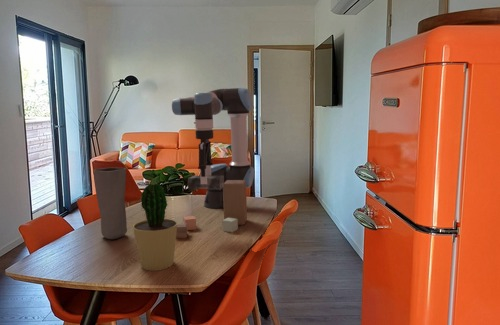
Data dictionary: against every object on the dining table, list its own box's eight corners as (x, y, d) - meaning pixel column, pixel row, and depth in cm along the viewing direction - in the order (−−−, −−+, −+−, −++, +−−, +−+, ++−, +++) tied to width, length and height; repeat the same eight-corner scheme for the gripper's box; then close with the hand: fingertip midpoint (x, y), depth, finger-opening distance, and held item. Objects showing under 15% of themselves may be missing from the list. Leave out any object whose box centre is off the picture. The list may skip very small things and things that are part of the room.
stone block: (194, 185, 187) (194, 173, 186) (225, 186, 184) (225, 175, 183) (187, 189, 178) (187, 176, 177) (220, 190, 175) (220, 178, 175)
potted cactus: (182, 255, 157) (178, 177, 153) (175, 272, 142) (171, 185, 137) (141, 257, 157) (136, 178, 152) (130, 273, 141) (124, 186, 137)
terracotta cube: (183, 227, 194) (183, 217, 193) (194, 226, 195) (193, 215, 195) (185, 230, 189) (185, 219, 188) (196, 229, 191) (196, 218, 190)
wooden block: (247, 219, 205) (246, 179, 202) (244, 225, 195) (244, 183, 192) (227, 219, 206) (226, 179, 203) (223, 225, 196) (222, 183, 193)
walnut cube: (175, 234, 183) (175, 223, 182) (187, 234, 183) (186, 223, 183) (174, 238, 178) (174, 227, 177) (186, 238, 178) (185, 226, 178)
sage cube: (228, 228, 192) (228, 217, 191) (237, 229, 189) (237, 218, 188) (222, 231, 187) (222, 220, 187) (232, 232, 185) (231, 221, 184)
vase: (93, 237, 180) (88, 169, 176) (119, 231, 189) (115, 166, 185) (107, 244, 172) (103, 172, 168) (134, 236, 181) (130, 168, 177)
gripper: (201, 128, 188) (202, 177, 191) (189, 131, 167) (191, 186, 170) (217, 127, 187) (218, 177, 190) (208, 131, 166) (209, 186, 169)
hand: (206, 181), depth 180 cm, fingers closed on stone block, 8 cm apart
